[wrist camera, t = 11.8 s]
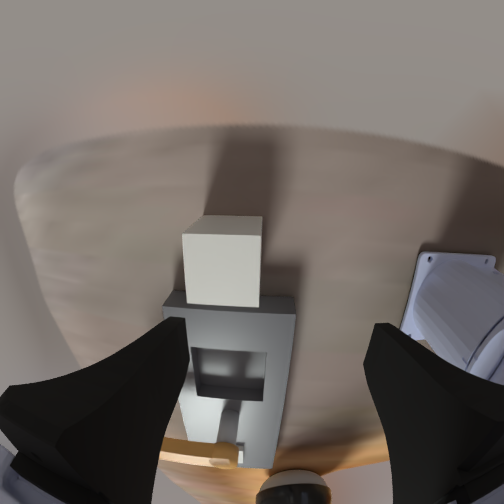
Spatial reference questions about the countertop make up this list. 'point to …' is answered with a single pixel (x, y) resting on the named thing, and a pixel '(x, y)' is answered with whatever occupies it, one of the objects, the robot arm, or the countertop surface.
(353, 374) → the countertop surface
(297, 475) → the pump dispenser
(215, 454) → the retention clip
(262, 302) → the grey recessed block
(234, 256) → the plug
